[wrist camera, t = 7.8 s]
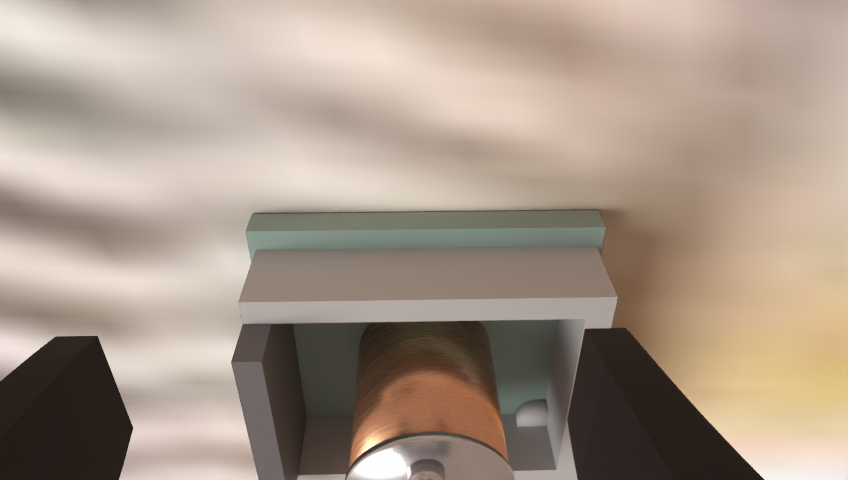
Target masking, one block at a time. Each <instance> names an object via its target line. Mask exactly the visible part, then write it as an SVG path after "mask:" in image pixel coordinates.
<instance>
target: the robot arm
mask: <svg viewBox="0 0 848 480" xmlns="http://www.w3.org/2000/svg"><path fill="white" fill-rule="evenodd" d="M567 423H568V429H569V434H570V440H571V446H572V452H573V458H574V463H575V469H576V474H577V479H578V480H764V479H763V478H762V477H761V476H760V475H759V474H758V473H757V472H756V471H755V470H754V469H753V468H752V467H751V466H750V465H749V464H748V463H747V462H746V461H745V460H744V459H743V458H742V457H741V455H740V454H739V453H738V452H737V451H736V450H735V449H734V448H733V447H732V446H731V445H730V444H729V443H728V442H727V441H726V440H725V439H724V438H723V436H722V435H721V434H720V433H719V432H718V431H717V430H716V429H715V428H714V427H713V426H712V425H711V424H710V423H709V422H708V421H707V419H706V418H705V417H704V416H703V415H702V414H701V413H700V412H699V411H698V410H697V409H696V407H695V406H694V405H693V404H692V403H691V402H690V401H689V400H688V399H687V397H686V396H685V395H684V394H683V393H682V392H681V391H680V390H679V388H678V387H677V386H676V385H675V384H674V383H673V382H672V380H671V379H670V378H669V377H668V376H667V375H666V374H665V372H664V371H663V370H662V369H661V368H660V367H659V366H658V364H657V363H656V362H655V361H654V360H653V359H652V357H651V356H650V355H649V354H648V353H647V352H646V350H645V349H644V348H643V347H642V346H641V345H640V343H639V342H638V341H637V340H636V339H635V338H634V337H633V335H632V334H631V333H630V332H629V331H628V330H627V329H626V328H592V329H585V330H584V335H583V341H582V346H581V351H580V356H579V361H578V366H577V372H576V377H575V382H574V387H573V392H572V397H571V403H570V408H569V413H568V418H567ZM132 430H133V426H132V424H131V421H130V419H129V416H128V414H127V411H126V408H125V406H124V403H123V401H122V398H121V395H120V393H119V390H118V388H117V385H116V383H115V380H114V377H113V375H112V372H111V370H110V367H109V364H108V362H107V359H106V357H105V354H104V352H103V349H102V346H101V344H100V341H99V339H98V336H64V337H55V338H53V339H52V340H51V341H49V342H48V343H47V344H46V345H44V346H43V347H42V348H40V349H39V350H38V351H37V352H35V353H34V354H33V355H32V356H30V357H29V358H28V359H27V360H26V361H24V362H23V363H22V364H21V365H20V366H18V367H17V368H16V369H15V370H13V371H12V372H11V373H10V374H9V375H7V376H6V377H5V378H4V379H3V380H2V381H0V480H119V477H120V474H121V471H122V467H123V464H124V460H125V457H126V453H127V449H128V445H129V442H130V438H131V434H132Z"/></svg>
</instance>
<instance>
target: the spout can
mask: <svg viewBox="0 0 848 480" xmlns="http://www.w3.org/2000/svg"><path fill="white" fill-rule="evenodd" d="M345 480H515V476H514V472H513V469H512V467H511V465H510V464H509V461H508V455H507V448H506V442H505V436H504V429H503V423H502V416H501V410H500V404H499V397H498V391H497V385H496V378H495V372H494V365H493V359H492V353H491V346H490V340H489V337H488V334H487V332H486V330H485V328H484V327H483V325H482V324H481V323H480V322H479V321H418V322H371V323H370V324H369V325H368V326H367V328H366V329H365V331H364V332H363V334H362V337H361V340H360V344H359V354H358V366H357V378H356V390H355V402H354V414H353V426H352V439H351V451H350V463H349V469H348V471H347V473H346V477H345Z"/></svg>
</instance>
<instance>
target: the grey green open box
mask: <svg viewBox="0 0 848 480" xmlns="http://www.w3.org/2000/svg"><path fill="white" fill-rule="evenodd" d="M605 231H606V226H605V224H604V222H603V219H602V217H601V215H600V213H599V211H598V210H555V211H465V212H376V213H286V214H252V215H251V218H250V221H249V224H248V226H247V229H246V236H247V241H248V247H249V252H250V258H251V266H250V269H249V272H248V275H247V278H246V281H245V284H244V287H243V290H242V293H241V296H240V299H239V302H238V303H239V308H240V312H241V317H242V322H243V326H242V329H241V332H240V335H239V339H238V342H237V345H236V348H235V352H234V355H233V358H232V361H231V363H232V368H233V372H234V376H235V381H236V385H237V389H238V393H239V398H240V402H241V406H242V410H243V415H244V419H245V423H246V427H247V432H248V436H249V440H250V444H251V449H252V453H253V457H254V462H255V466H256V470H257V474H258V479H259V480H345V477H346V473H347V471H348V469H349V463H350V451H351V439H352V426H353V414H354V402H355V390H356V378H357V366H358V354H359V344H360V340H361V337H362V334H363V332H364V331H365V329H366V328H367V326H368V325H369V324H370V323H371V322H418V321H479V322H480V323H481V324H482V325H483V327H484V328H485V330H486V332H487V334H488V337H489V340H490V346H491V353H492V359H493V365H494V372H495V378H496V385H497V391H498V397H499V404H500V410H501V416H502V423H503V429H504V436H505V442H506V448H507V455H508V461H509V464H510V465H511V467H512V469H513V472H514V476H515V480H577V474H576V469H575V463H574V458H573V452H572V446H571V440H570V434H569V429H568V423H567V418H568V413H569V408H570V403H571V397H572V392H573V387H574V382H575V377H576V372H577V366H578V361H579V356H580V351H581V346H582V341H583V335H584V330H585V329H592V328H611V326H612V322H613V317H614V313H615V308H616V304H617V299H618V296H617V294H616V291H615V289H614V287H613V284H612V282H611V280H610V277H609V275H608V272H607V270H606V268H605V265H604V263H603V261H602V258H601V251H602V246H603V241H604V236H605Z"/></svg>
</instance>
